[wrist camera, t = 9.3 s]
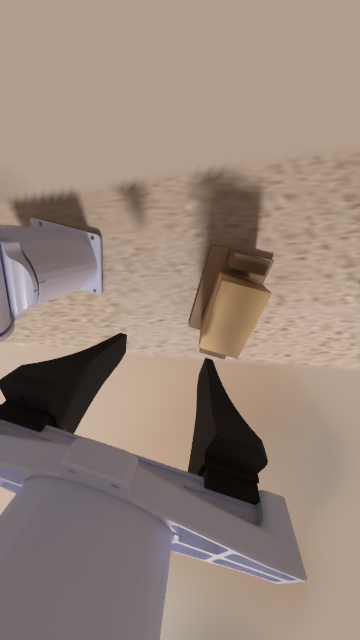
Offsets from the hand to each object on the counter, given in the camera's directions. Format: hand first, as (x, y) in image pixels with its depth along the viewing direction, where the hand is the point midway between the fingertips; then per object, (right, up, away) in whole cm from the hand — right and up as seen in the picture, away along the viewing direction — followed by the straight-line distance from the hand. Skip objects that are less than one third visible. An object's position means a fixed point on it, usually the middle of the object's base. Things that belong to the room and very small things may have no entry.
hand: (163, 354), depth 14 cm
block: (+7, +5, +5) cm, 10 cm away
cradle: (+7, +6, +7) cm, 12 cm away
